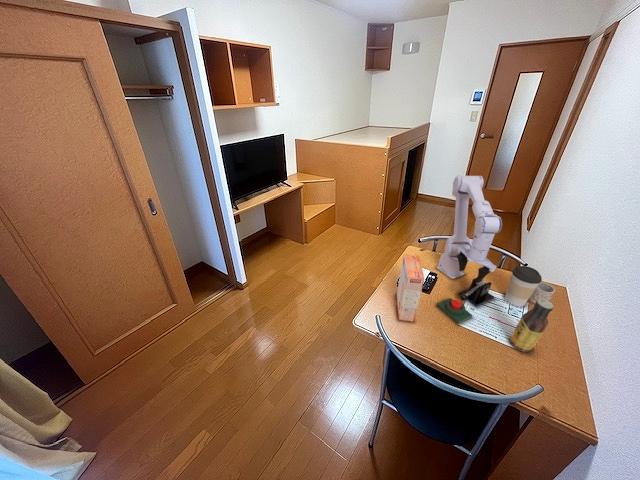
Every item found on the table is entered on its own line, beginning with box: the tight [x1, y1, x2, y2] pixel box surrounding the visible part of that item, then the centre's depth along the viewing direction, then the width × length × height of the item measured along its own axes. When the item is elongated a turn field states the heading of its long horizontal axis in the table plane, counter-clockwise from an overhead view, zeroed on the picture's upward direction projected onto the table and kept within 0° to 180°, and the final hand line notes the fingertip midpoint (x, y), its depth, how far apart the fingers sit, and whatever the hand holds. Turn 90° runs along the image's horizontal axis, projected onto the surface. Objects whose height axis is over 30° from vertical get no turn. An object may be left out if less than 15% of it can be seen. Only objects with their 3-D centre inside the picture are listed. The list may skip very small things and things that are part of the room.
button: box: [450, 299, 463, 310], centre depth 97 cm, size 4×4×2 cm
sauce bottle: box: [509, 299, 555, 353], centre depth 81 cm, size 6×6×20 cm
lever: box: [459, 279, 487, 302], centre depth 102 cm, size 12×3×3 cm, turn 114°
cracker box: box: [396, 253, 425, 323], centre depth 97 cm, size 14×6×21 cm, turn 168°
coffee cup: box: [504, 265, 543, 307], centre depth 100 cm, size 9×9×15 cm
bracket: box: [459, 277, 495, 308], centre depth 104 cm, size 10×8×8 cm
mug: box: [528, 281, 556, 304], centre depth 103 cm, size 10×7×7 cm
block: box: [436, 297, 473, 325], centre depth 98 cm, size 10×7×4 cm
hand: (469, 275), depth 101 cm, fingers open, 7 cm apart
